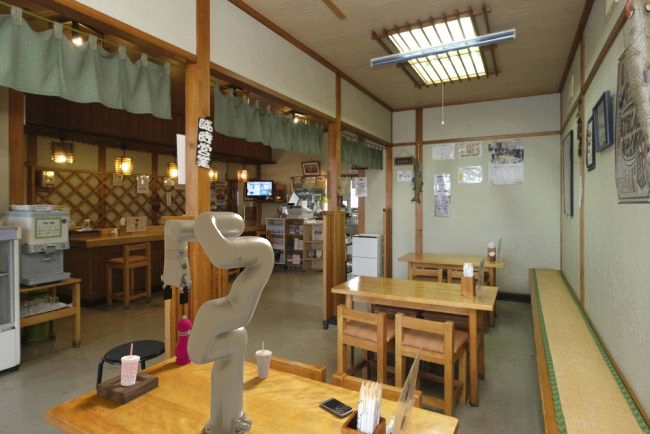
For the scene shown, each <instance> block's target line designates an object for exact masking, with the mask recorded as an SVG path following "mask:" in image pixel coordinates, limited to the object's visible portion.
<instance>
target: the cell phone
mask: <svg viewBox="0 0 650 434" xmlns="http://www.w3.org/2000/svg"><path fill="white" fill-rule="evenodd" d="M319 407H321V408H323V409H325V410H327V411H328V412H330V413H332V414H334V415H335V416H337V417H338V418H345V417H347V416H349V415H351V414H352V413H353V412H354V408H353V407H351V406H350V405H348V404H346V403H344V402H342V401H341V400H338V399H337V398H335V397H331V398H328V399H327V400H324V401H322V402H319ZM346 415H347V416H346ZM344 416H345V417H344Z"/></svg>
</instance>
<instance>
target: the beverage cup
mask: <svg viewBox="0 0 650 434" xmlns="http://www.w3.org/2000/svg"><path fill="white" fill-rule="evenodd" d="M133 345H134V343H131V345H130V354H129V355H124V356H123V357H121V359H120V361H121V374H120V375H121V385H124V386H129V385H133V384H135V380H136V374H137V371H138V366H139V361H140V359H141V356H139V355H136V354H135V355H133Z"/></svg>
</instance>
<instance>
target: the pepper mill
mask: <svg viewBox="0 0 650 434" xmlns="http://www.w3.org/2000/svg"><path fill="white" fill-rule="evenodd" d="M192 326H193V324H192V322H191V320H190V319H188V318H187V316H186V315H182V317H181V319H180V320H178V321H177V322H176V329H177V336H178V342H177V345H176V346H175V348H174V349H175V350H174V356H175V357H176V358H175V364H176V365H179V366H181V365H182V366H183V365H184V366H185V365H188V364H190V363H192V361H191V360H190V358H189V356H188V351H187V346H188V340H189V336H190V333H191V329H192Z"/></svg>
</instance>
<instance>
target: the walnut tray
mask: <svg viewBox="0 0 650 434" xmlns="http://www.w3.org/2000/svg"><path fill="white" fill-rule="evenodd" d="M159 380H160V379H159V376H156V375H152V374H147V373H145V372H141V371H139V370H137V374H136V380H135V384H133V385H129V386H124V385H121V374H119V375H116V376H114V377H112V378H110V379H107V380H105V381H103V382H99V383H98V384H96V396H97V397H100V398H104V399H107V400H110V401H114V402H117V403H119V404H122V405H126V404H129V403H131V402H132V401H135V400H136V399H138V398H140V397H142V396H144V395H145V394H147V393H150V392H151V391H154V390H156V389H157V388H159V383H160V382H159Z"/></svg>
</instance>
